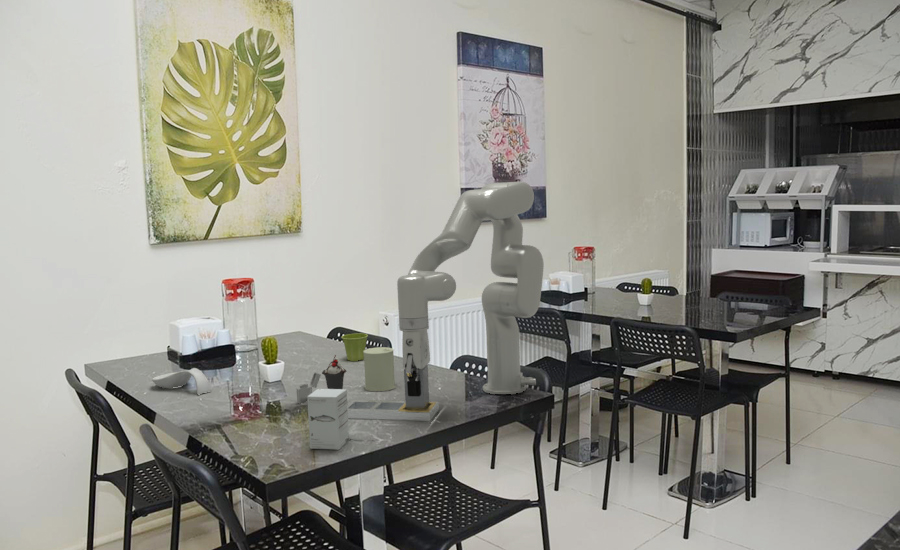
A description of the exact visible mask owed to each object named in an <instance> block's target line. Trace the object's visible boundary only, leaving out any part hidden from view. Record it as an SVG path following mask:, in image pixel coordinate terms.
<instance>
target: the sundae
mask: <svg viewBox="0 0 900 550" xmlns="http://www.w3.org/2000/svg"><path fill="white" fill-rule="evenodd" d="M336 357H337V354H335V355H334V356H333V360H332V361H330V363H329V364H328V367H326V369H324V370H323V371H322V372H321V375H324V377H325V383H326V389H344V377H345V374H346V372H347V371H348V370H346V369H345V368H343V366H342V364H341V362H339V361H338V359H336Z"/></svg>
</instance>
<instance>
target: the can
mask: <svg viewBox="0 0 900 550" xmlns="http://www.w3.org/2000/svg"><path fill="white" fill-rule="evenodd" d="M394 350H395V349H394V348H392V347H388V346H387V347H385V346H383V347H382V346H381V347H379V346H378V347H371V348H367V349H366V348H365V350H364V351H363V353H364V359H363V363H364V384H365V386H364V389H365V390H366V391H368V392H387V391H390V390H393V389H395V388H396V380H395V378H396V377H395V364H394V363H395V362H394V361H395V360H394V352H395V351H394Z"/></svg>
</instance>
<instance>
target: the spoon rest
mask: <svg viewBox="0 0 900 550" xmlns="http://www.w3.org/2000/svg"><path fill="white" fill-rule="evenodd" d="M192 377H193V379H194V381H195V385H196V395H197V394H201V393H204V392H208V391H211V392H212V388H211V384H210V382H209V380H208V379H207V377H206V375H205V374H204V372H202V371H201V370H200V369H199V368H196V367H192V368H191V369H189V370H187V369H186V370H181V371H175V372H169V373H165V374H161V375H157V376H155V377H153V378H151V381H152V383H154V385H155V386H157V387H159V388H161V387H162V389H164V388H173V387H178V386H182V385H184V386H185V385H186V384H187V383H189V381H190V379H191V378H192ZM208 393H209V392H208ZM201 395H202V394H201Z"/></svg>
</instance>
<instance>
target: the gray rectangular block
mask: <svg viewBox="0 0 900 550" xmlns="http://www.w3.org/2000/svg"><path fill="white" fill-rule="evenodd" d="M412 369H416V366H413V367H412ZM413 372H414V373H415V375H416V371H413ZM403 375H404V376H403V377H404V381H403V382H404V396H405V398H404V399H405V400H404V401H405V403H406V408H425V407H426V406H427V405H428V404H429V402H430V385H429V366H428V364H427V365H426V366H425V367H424V368H423V369H422V370H420V369H419V380H418V381H420V394H421V395H420V396H408V387H407V374H406V369H405V368H404V369H403Z"/></svg>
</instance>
